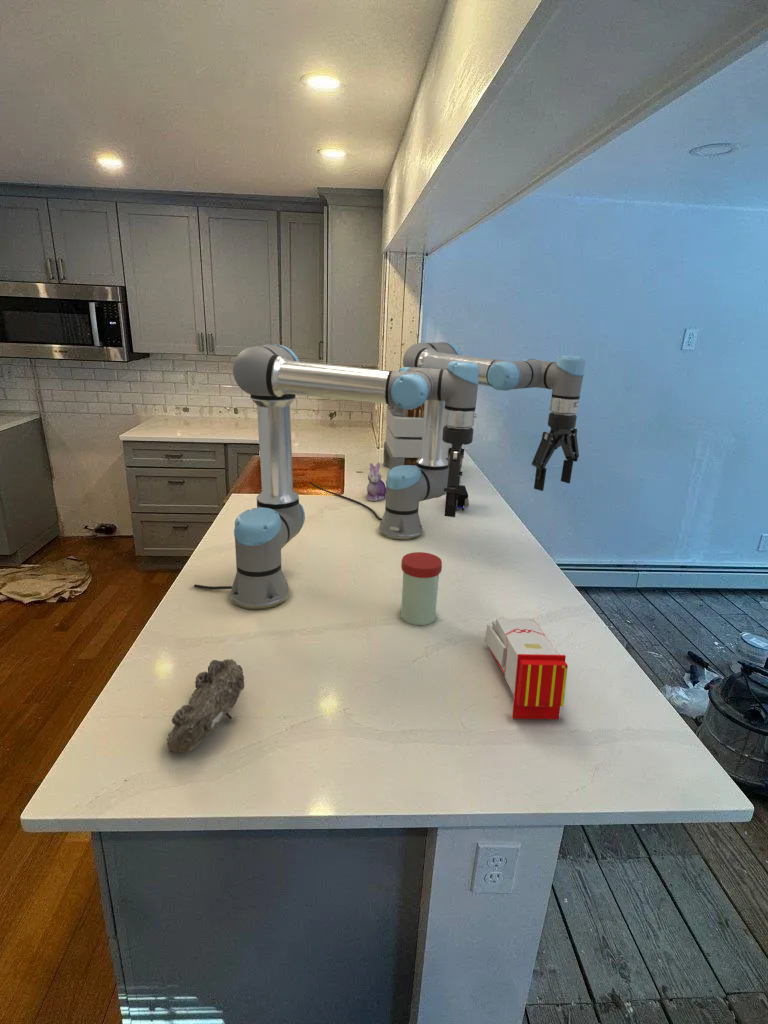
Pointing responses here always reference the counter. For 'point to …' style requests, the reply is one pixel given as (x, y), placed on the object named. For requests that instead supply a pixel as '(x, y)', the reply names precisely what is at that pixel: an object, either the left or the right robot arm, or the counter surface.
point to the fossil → (206, 705)
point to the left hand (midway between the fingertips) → (451, 507)
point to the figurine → (375, 484)
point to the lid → (421, 565)
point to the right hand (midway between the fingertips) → (552, 485)
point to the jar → (419, 599)
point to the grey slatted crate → (404, 436)
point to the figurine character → (462, 498)
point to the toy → (529, 667)
